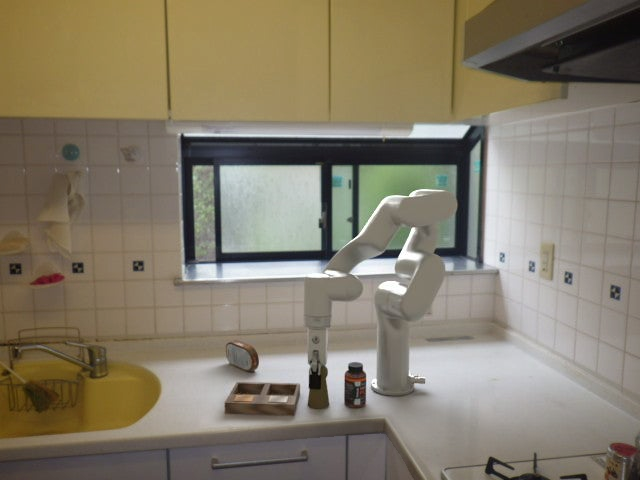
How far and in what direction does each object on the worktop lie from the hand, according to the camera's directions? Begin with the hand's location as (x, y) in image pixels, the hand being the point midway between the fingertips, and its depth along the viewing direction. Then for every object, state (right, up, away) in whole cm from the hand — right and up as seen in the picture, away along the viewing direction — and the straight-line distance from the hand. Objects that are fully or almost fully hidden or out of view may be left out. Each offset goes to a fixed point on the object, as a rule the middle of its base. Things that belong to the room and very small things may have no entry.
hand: (316, 381), depth 141 cm
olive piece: (+1, -7, +1) cm, 7 cm away
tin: (-25, -4, +29) cm, 38 cm away
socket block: (-14, -6, +2) cm, 16 cm away
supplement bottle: (+11, -7, +1) cm, 13 cm away
